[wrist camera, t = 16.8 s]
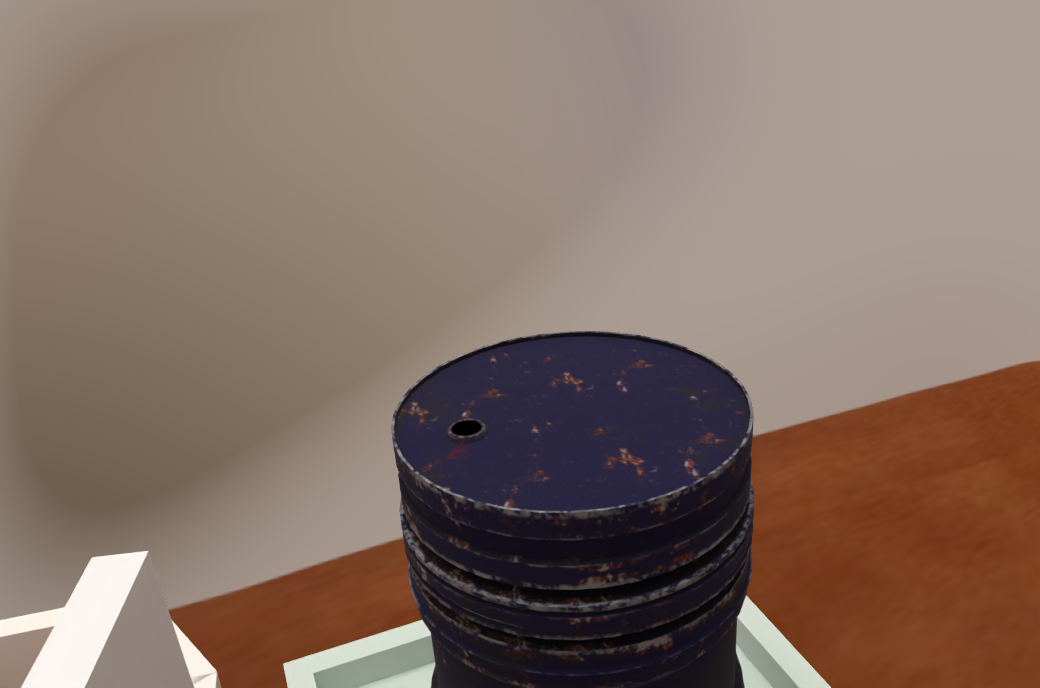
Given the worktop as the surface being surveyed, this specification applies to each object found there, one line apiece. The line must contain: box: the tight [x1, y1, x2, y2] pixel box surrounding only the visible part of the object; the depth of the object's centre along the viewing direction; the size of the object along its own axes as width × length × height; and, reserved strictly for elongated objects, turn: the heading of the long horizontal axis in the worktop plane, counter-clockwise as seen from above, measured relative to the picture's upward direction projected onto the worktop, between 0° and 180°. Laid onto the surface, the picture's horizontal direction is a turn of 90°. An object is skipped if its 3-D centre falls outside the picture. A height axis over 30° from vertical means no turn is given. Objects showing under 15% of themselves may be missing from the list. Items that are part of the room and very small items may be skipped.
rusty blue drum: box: [391, 331, 754, 688], centre depth 28 cm, size 10×10×15 cm
